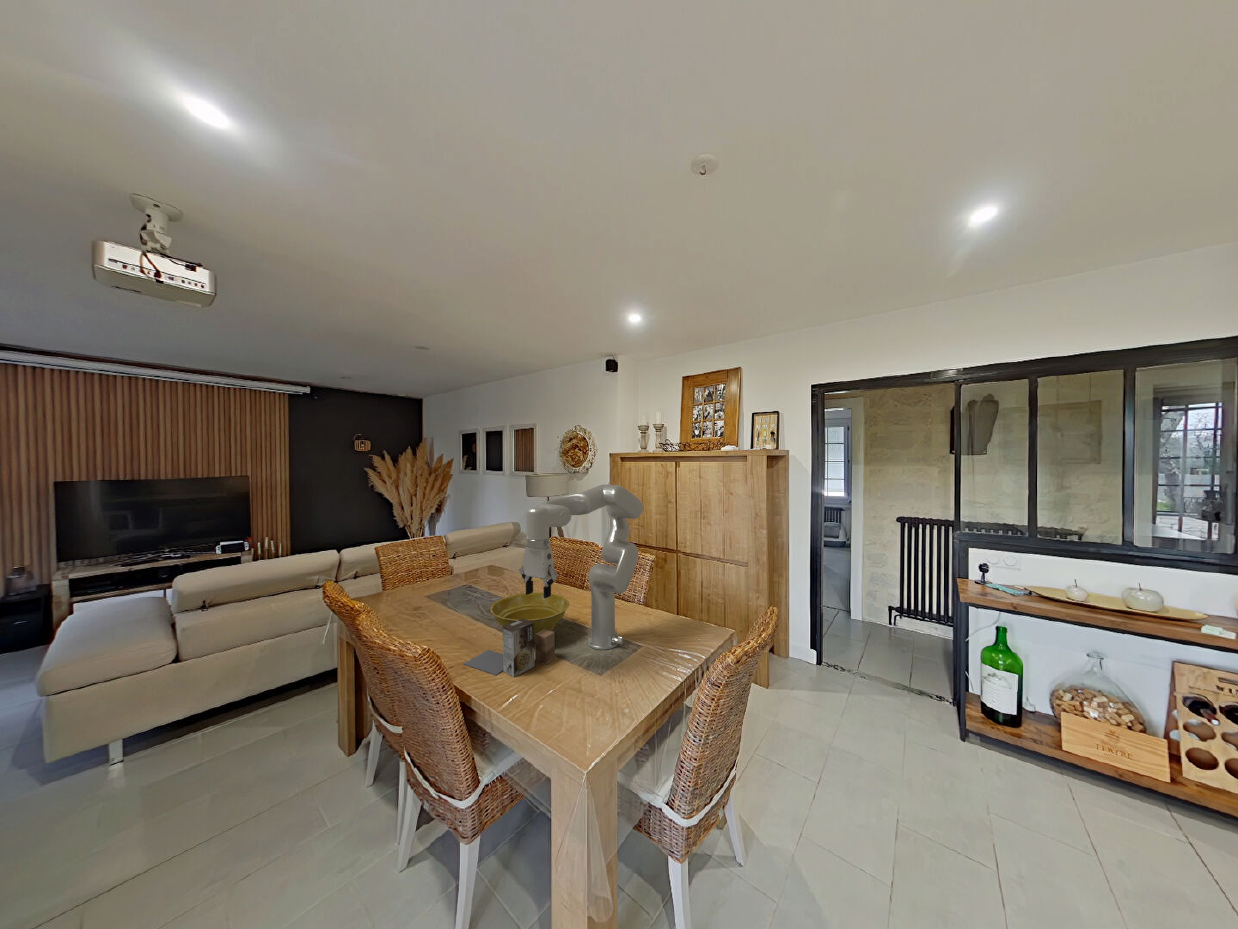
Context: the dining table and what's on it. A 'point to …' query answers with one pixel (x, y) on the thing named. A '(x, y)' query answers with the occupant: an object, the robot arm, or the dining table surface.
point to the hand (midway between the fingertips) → (538, 595)
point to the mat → (487, 662)
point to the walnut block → (544, 647)
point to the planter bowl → (531, 610)
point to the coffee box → (518, 647)
